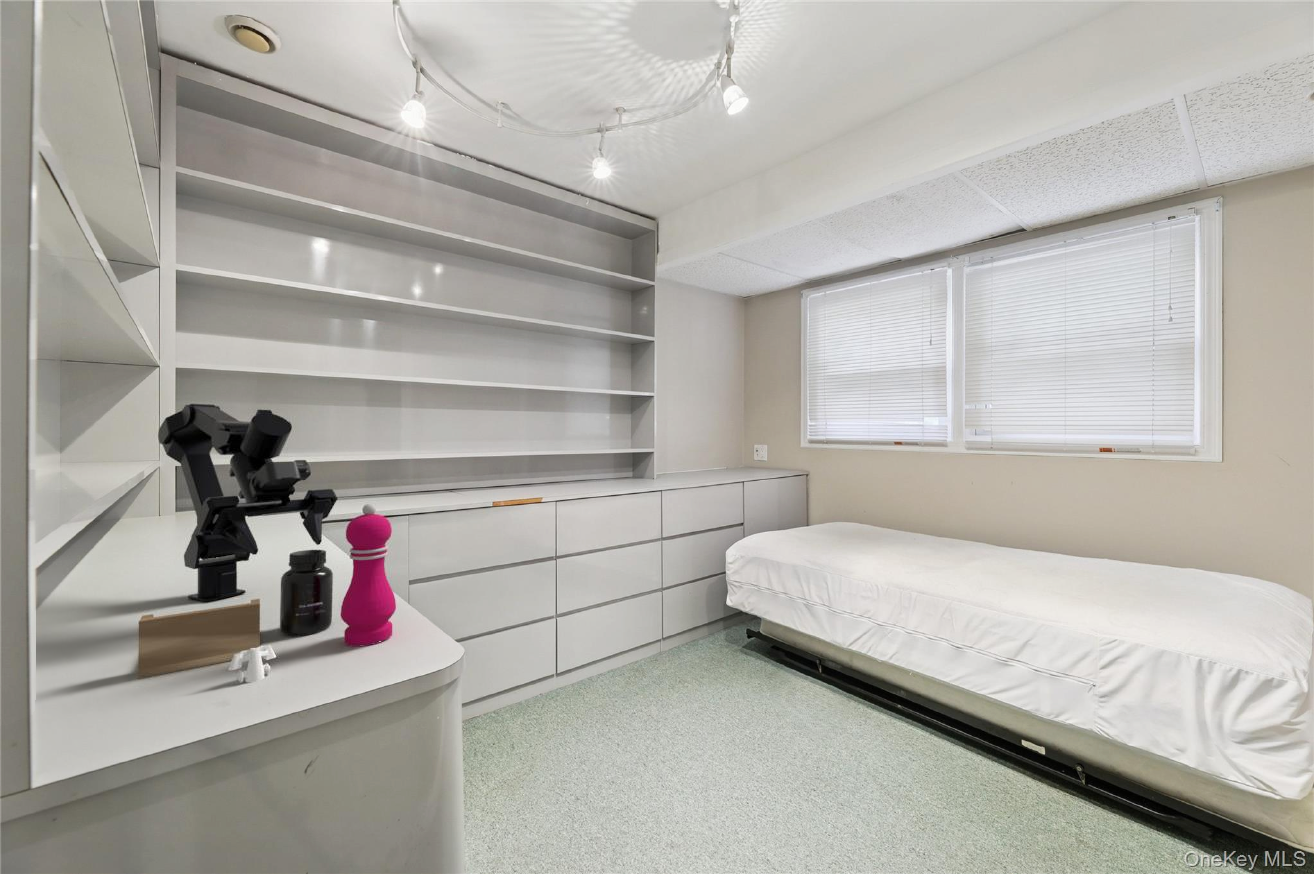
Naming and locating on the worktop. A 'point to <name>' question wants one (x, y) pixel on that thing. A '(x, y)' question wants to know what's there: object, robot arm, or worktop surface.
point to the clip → (252, 663)
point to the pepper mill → (368, 581)
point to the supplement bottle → (306, 594)
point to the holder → (196, 638)
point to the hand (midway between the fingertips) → (289, 547)
